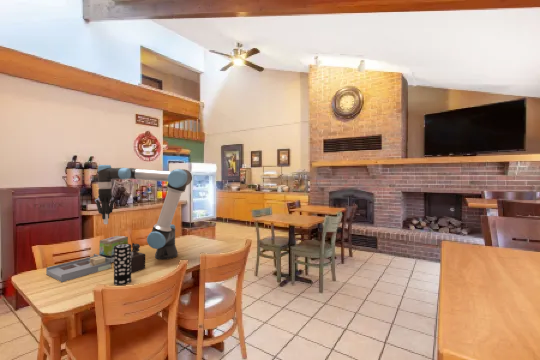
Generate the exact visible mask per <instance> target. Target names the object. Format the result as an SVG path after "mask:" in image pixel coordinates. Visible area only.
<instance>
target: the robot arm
mask: <svg viewBox="0 0 540 360" xmlns="http://www.w3.org/2000/svg"><path fill="white" fill-rule="evenodd" d="M97 177H98V178H97V181H98V182H97V186H98V190H97V191H98V192H97V193H98V196H97V198H96V199H94V200H93V201H94V202H95V204H96V208H97V211H98V214H101V219H102V220H103V224H104V225H109V219H110V215H111V213H113V210H114V205H115V202H116V197H113V195H112V193H113V192H112V187H113V186H112V180H140V181H141V180H144V181H153V182H155V181H156V182H167V185H166V188H167V193H166V196H165V199H164V202H163V204H162V207H161V211H160V213H159V217H158V219H157V222H156V223H155V224H154V225H153V227H152V230H151V232H149V234H148V235H147V238H146V242H147V245H148V246H149V247H150V248H152V249H155V250H156V251H155V254H154V258H155V259H157V260H163V261H164V260H171V259H170V258H172V259H174V258H173V257H175V258H177V257H178V256H177V255H179V254H178V253H179V252H178V250H177V246H176V225H175V224H172V222H173V220H174V217H175V213H176V210H177V209H178V205H179V202H180V199H181V196H182V194H183V193H184V192H185V190H186V188H187V186H188V185H190V184H191V183H192V181H193V175H192V173H191V171H190V170H188V169H183V168H182V169H181V168H176V169H173V170H159V169H157V170H156V169H146V168H145V169H144V168H134V167H112V166H111V164H99V165H98V166H97ZM176 256H177V257H176Z"/></svg>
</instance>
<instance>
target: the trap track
mask: <svg viewBox="0 0 540 360" xmlns="http://www.w3.org/2000/svg"><path fill="white" fill-rule="evenodd" d="M98 256H100V255H99V254H96V253H93V256H90V257H89V256H88V257H85V258H80V259H76V260H72V261H68V262H64V263H60V264H56V265H51V266H48V267H45V268H46V275H47V276H49V277H50V278H52V279H54V280H57V281H58V280H59V281H58V282H60V281H61V283H65V282H67V280H68V281H70V280H71V281H72V280H74V279H77V278H82V277H84V276H88V275H92V274H94V273H95V274H96V273H99V272H102V271H105V270H108V269H112V263H111V259H109V258H106V257H105V263H103V264H99V265H95V266H92V265H90V258H94V257H98ZM102 257H103V256H102Z"/></svg>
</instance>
